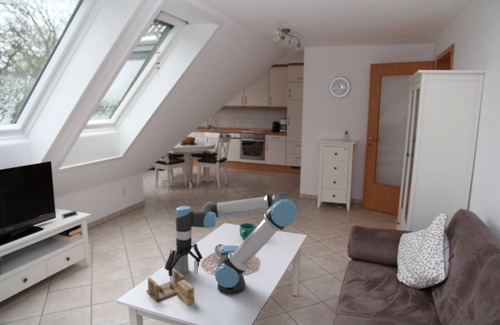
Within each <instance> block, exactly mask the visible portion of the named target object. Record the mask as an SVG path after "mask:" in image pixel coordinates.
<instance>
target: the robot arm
mask: <svg viewBox="0 0 500 325" xmlns="http://www.w3.org/2000/svg"><path fill="white" fill-rule="evenodd" d="M263 212H264V214H263V216H264V217H263V219H262V220H261V221H260V223H258V225H256V226H257V227H256V228H255V229H254V230H253V231H252V233H251V234H250V235H249V236H248V237H247V238H246V239H244V240H243V241H242V243H241V244H239V246H238V245H233V244H231V245H225V246H222V247H220V248H221V249H220V251H219V253H220V257H219V262H218V264H217V266H216V269H215V272H214V273H215V275H214V277H215V281H216V282H217V290H218V291H219V292H220V293H222V294H225V295H238V294H241V293H243V292H244V290H245V289H246V281H245V278H244V275H243V274H244V273H245V272H246V271H247V268H248V266H247V265H248V264H249V262H250V261H251V260H252V259H253V258H254V257H255V256H256V255H257V254H258V252H259V251H260V250H261V249H262V248H263V247H264V246H265V245H266V244H267V243H268V241H270V239H272V237H273V236H274V235H275V234H276V233H277V232H278V231H283V230H284V229H285V228H286V227H289V226H290V225H292V224H293V223H294V222H295V220H296V218H297V215H298V209H297V206H296V201H295V199H294V197H293V196H292V195H291V194H289V193H288V192H274V193H268V194H266V195H264V196H259V197H254V198H253V197H252V198H246V199H237V200H230V201H222V202H213V201H208V202H206V203H205V204H204V205H203V206H202V208H201V210H200V211H194V210H192V207H191V206H188V205H181V206H178V207H177V208H176V209H175V242H176V244H175V245H176V246H177V248H176V249H174V248H171V249H170V251H169V255H168V258H167V260H166V263H165V265H164V269H165V270H166V271H167V272H168V273H167V274H168V276H169V280H170V281H171V282H172V283H174V270H173V269H174V266H175V265H176V263H177V262H178V260H179V259H180V258H181V256H185V255H188V256H189V255H190V256H191V257H192V258H193V259H194V260H193V273H195V274H196V275H198V274H199V266H200V263H201V260H202V259H203V255H202V253H201V252H200V250H199V248H198V244H197V243H195V242H192V239H193V238H192V236H193V235H192V228H203V229H204V228H206V229H210V228H211V229H212V228H215V227H216V224H217V218H222V217H223V218H224V217H231V216H232V217H234V216H239V215H246V214H247V215H249V214H255V213H263ZM176 246H175V247H176ZM173 249H174V250H173ZM192 249H193V250H194V252H195V253H194V252H193V251H191V250H192ZM176 252H177V253H176ZM178 254H179V256H178ZM174 256H175V257H174ZM173 258H174V259H173ZM170 281H169V282H170Z"/></svg>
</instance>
